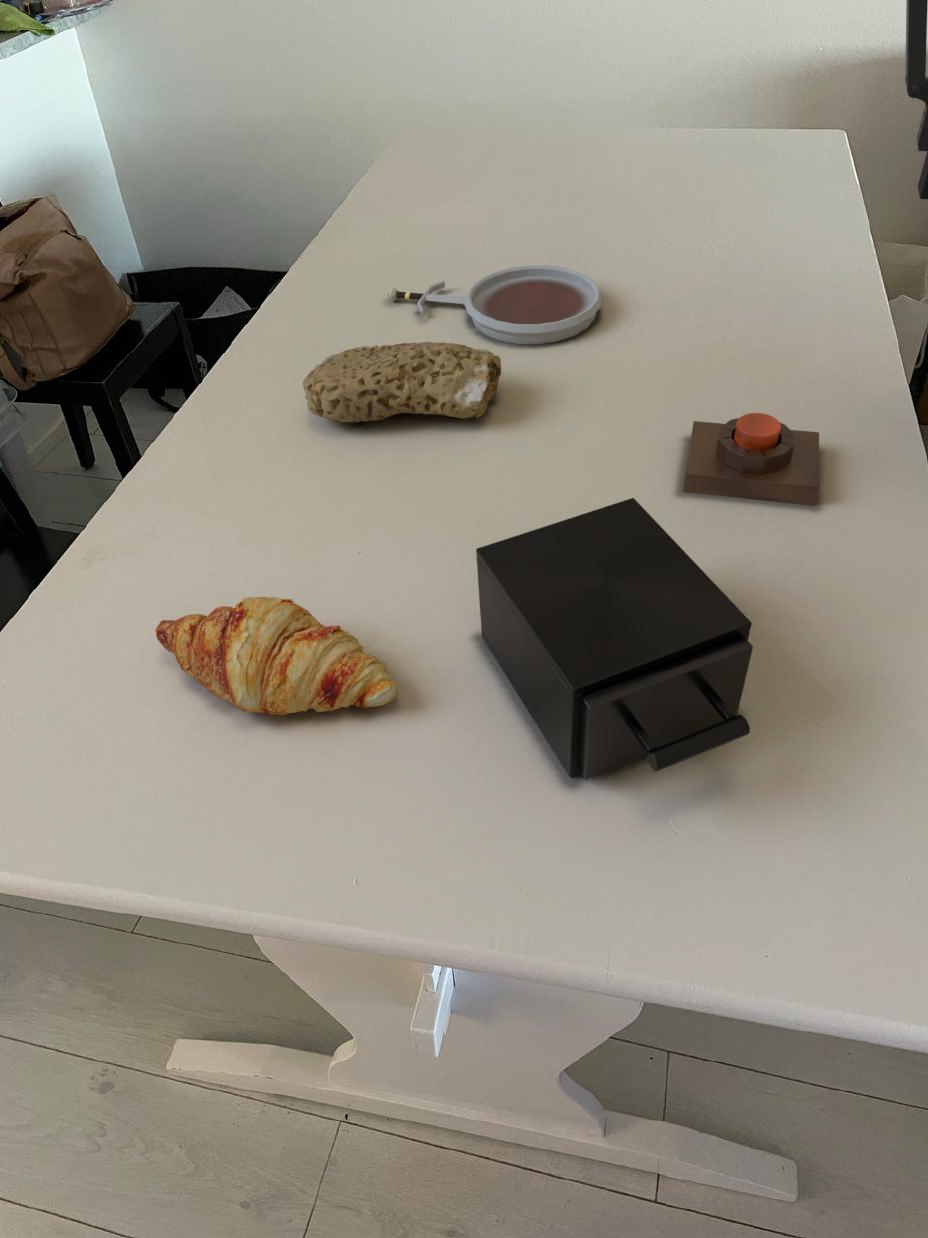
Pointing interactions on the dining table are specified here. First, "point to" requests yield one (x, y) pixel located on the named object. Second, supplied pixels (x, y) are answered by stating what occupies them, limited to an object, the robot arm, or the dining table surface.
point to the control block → (753, 465)
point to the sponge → (403, 382)
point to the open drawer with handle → (666, 710)
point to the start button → (757, 431)
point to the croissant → (276, 659)
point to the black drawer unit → (593, 611)
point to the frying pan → (524, 303)
